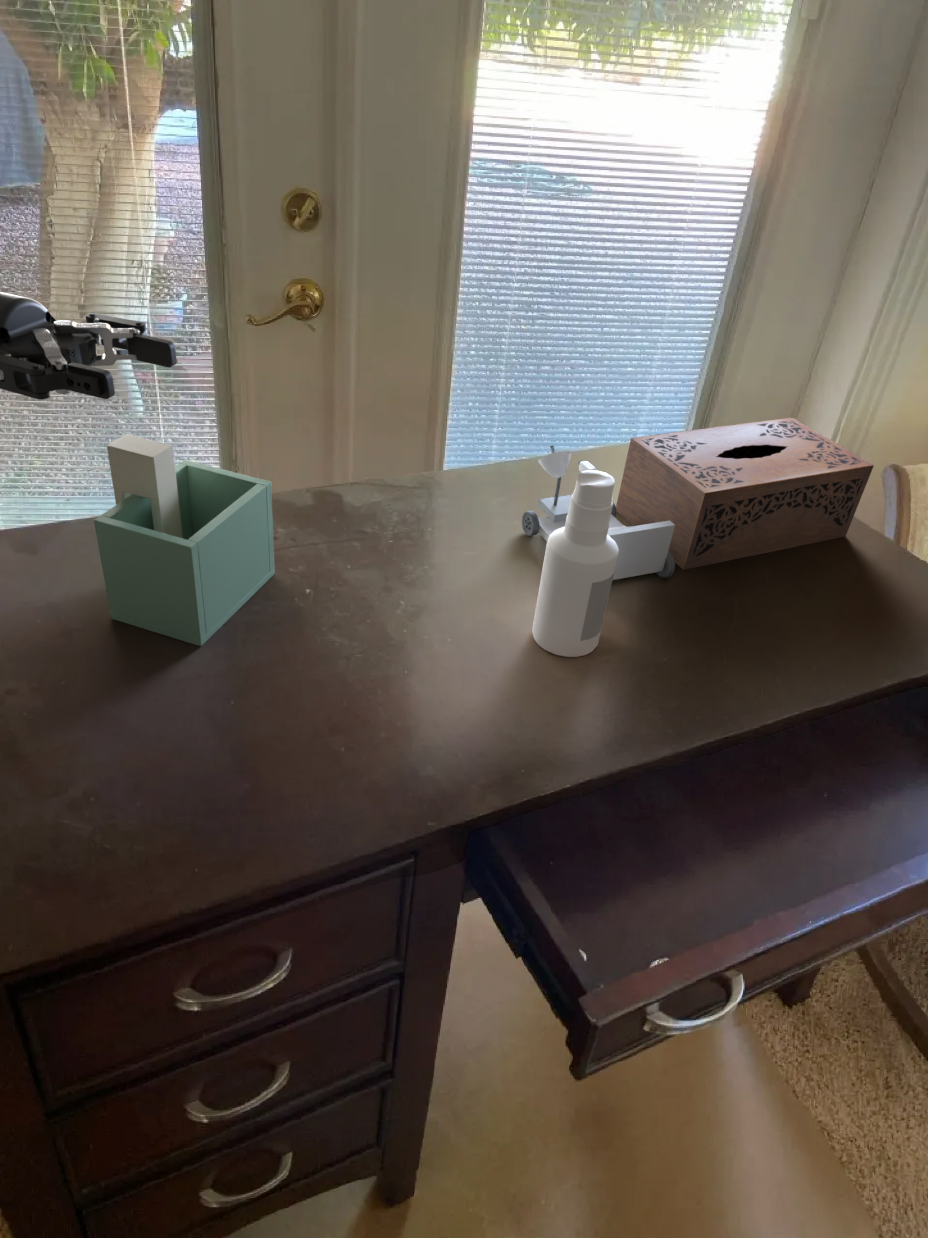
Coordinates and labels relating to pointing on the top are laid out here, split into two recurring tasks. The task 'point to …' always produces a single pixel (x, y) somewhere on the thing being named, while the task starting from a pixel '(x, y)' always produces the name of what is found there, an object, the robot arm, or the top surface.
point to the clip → (147, 478)
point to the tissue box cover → (742, 489)
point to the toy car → (636, 544)
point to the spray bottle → (578, 571)
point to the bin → (189, 554)
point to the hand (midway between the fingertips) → (143, 369)
